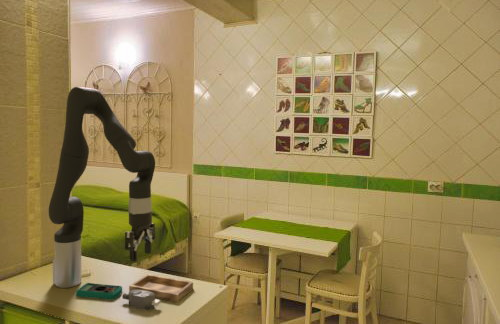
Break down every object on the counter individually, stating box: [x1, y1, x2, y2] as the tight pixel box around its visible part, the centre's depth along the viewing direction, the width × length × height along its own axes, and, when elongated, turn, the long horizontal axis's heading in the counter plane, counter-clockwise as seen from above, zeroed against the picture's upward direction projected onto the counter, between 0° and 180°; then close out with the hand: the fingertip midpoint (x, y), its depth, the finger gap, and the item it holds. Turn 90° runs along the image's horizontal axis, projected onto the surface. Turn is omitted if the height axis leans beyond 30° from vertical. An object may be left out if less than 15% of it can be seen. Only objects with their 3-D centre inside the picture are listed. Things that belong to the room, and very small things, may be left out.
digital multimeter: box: [75, 282, 123, 301], centre depth 143 cm, size 7×15×3 cm, turn 82°
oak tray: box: [128, 273, 194, 303], centre depth 147 cm, size 20×12×3 cm, turn 71°
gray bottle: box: [122, 289, 161, 311], centre depth 135 cm, size 14×4×4 cm, turn 71°
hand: (141, 257), depth 134 cm, fingers open, 8 cm apart
